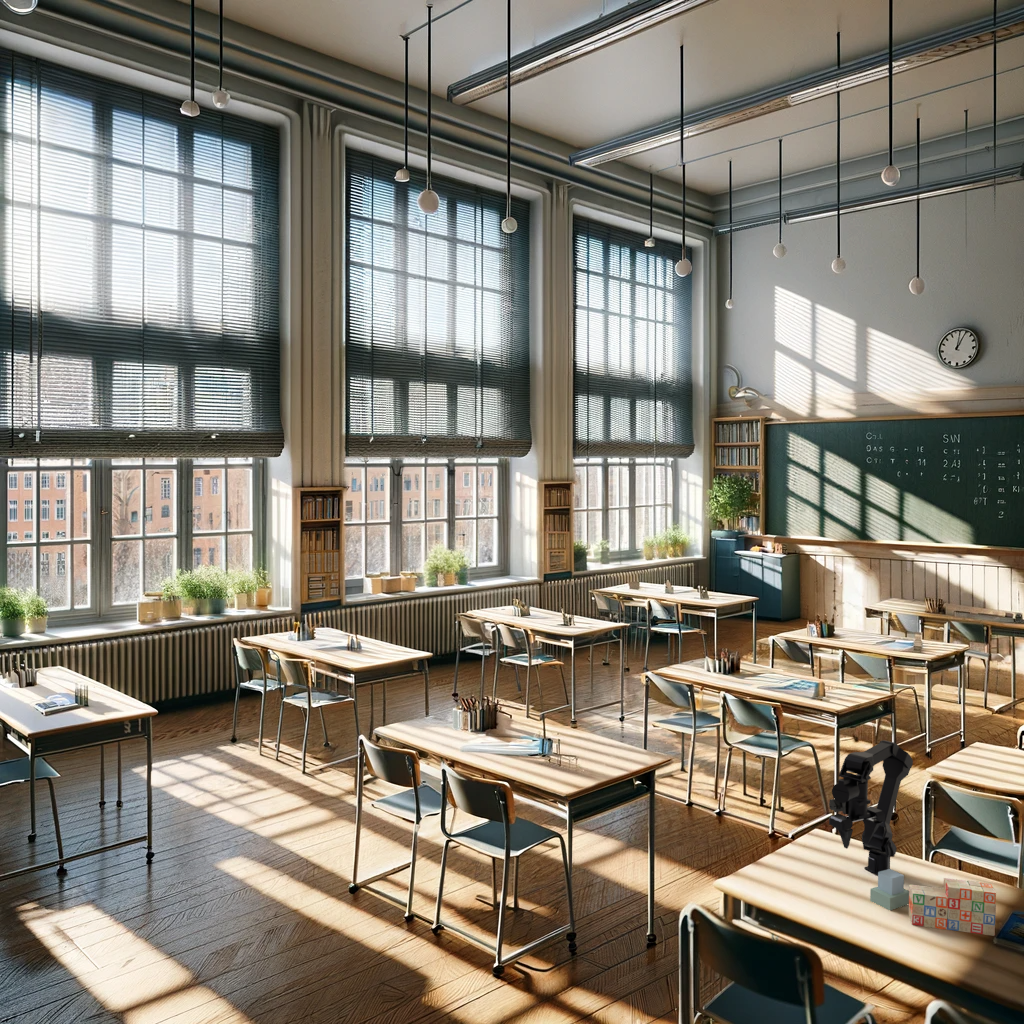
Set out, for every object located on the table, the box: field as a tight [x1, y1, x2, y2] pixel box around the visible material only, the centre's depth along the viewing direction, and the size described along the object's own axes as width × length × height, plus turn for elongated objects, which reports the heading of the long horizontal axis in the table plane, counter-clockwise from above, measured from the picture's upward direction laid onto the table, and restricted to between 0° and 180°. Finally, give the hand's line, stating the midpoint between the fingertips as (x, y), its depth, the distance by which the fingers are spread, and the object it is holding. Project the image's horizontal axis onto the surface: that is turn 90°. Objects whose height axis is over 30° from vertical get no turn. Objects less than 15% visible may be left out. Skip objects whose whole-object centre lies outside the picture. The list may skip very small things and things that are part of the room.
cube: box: [877, 868, 905, 895], centre depth 275 cm, size 5×5×5 cm
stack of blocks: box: [908, 877, 997, 937], centre depth 261 cm, size 21×6×12 cm, turn 74°
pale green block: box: [869, 886, 909, 911], centre depth 275 cm, size 9×7×4 cm
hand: (856, 845), depth 287 cm, fingers open, 9 cm apart
